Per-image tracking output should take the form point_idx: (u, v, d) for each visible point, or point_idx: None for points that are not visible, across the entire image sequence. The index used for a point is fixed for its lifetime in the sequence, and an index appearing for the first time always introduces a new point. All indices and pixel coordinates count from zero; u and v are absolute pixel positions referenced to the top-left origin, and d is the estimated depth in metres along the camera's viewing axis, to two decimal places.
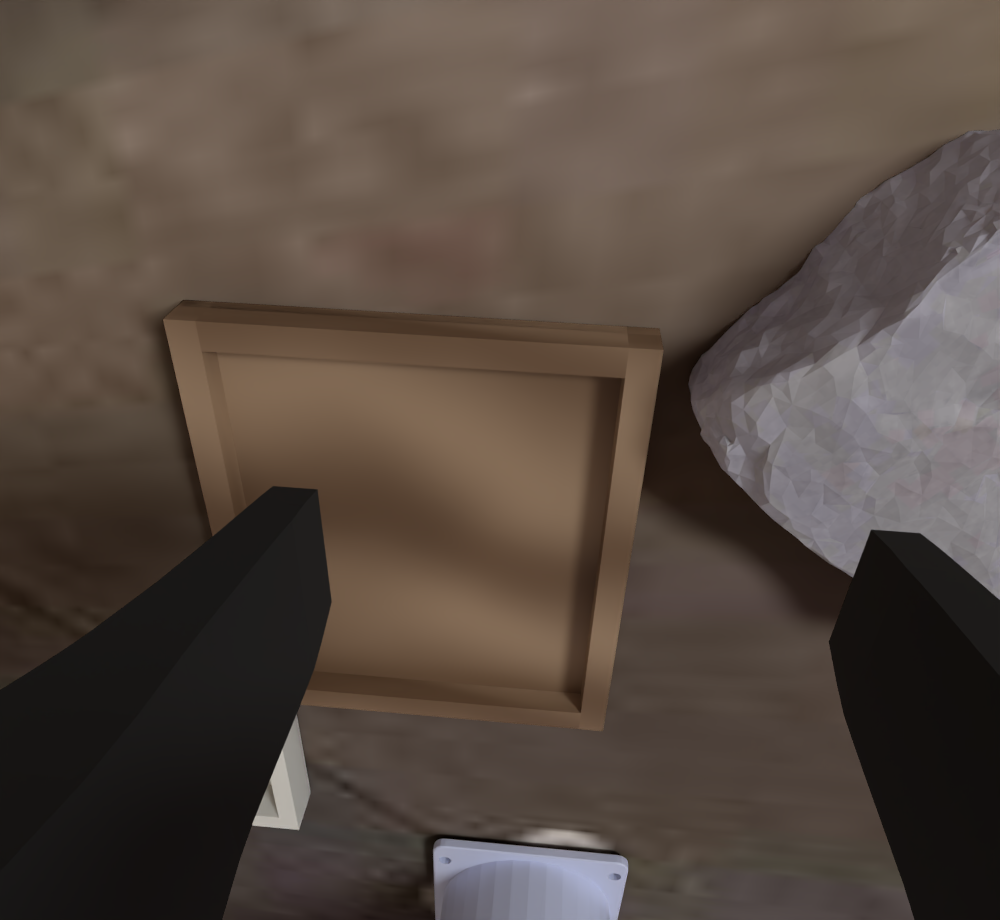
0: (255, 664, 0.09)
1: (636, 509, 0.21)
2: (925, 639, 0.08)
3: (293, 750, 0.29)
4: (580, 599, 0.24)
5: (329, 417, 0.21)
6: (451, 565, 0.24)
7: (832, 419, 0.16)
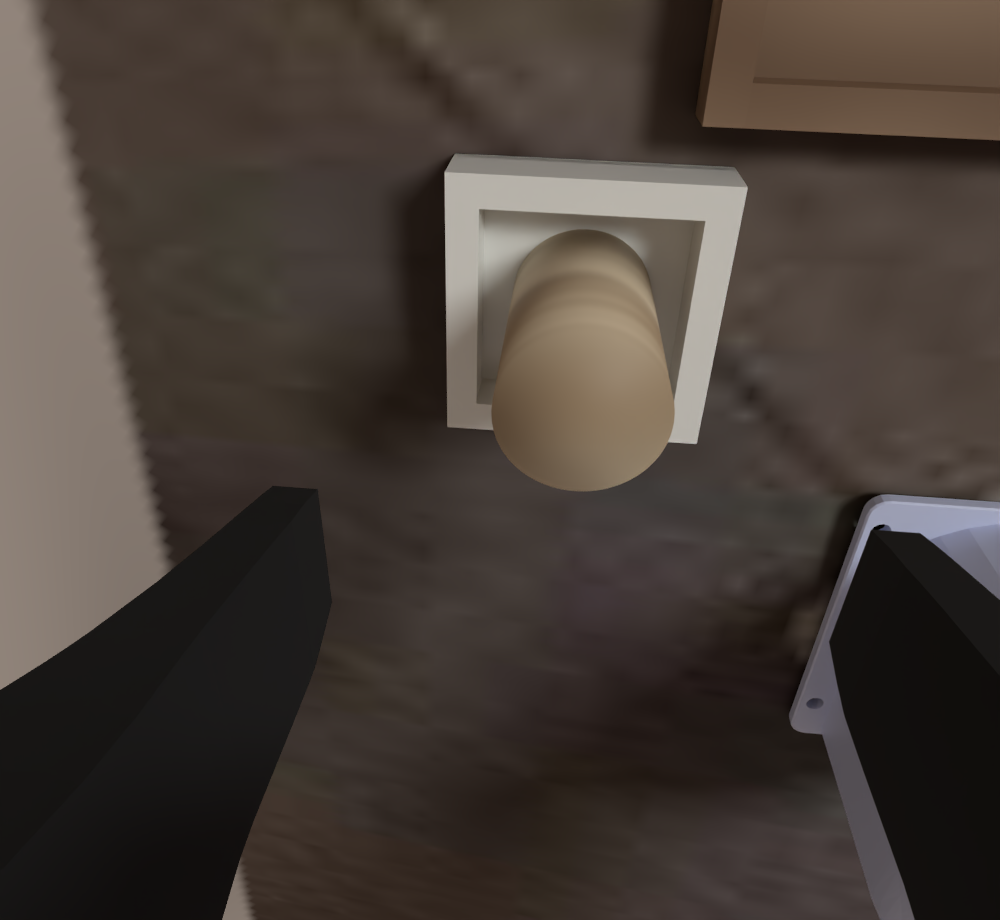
0: (256, 664, 0.09)
1: None
2: (925, 639, 0.08)
3: None
4: None
5: None
6: None
7: None
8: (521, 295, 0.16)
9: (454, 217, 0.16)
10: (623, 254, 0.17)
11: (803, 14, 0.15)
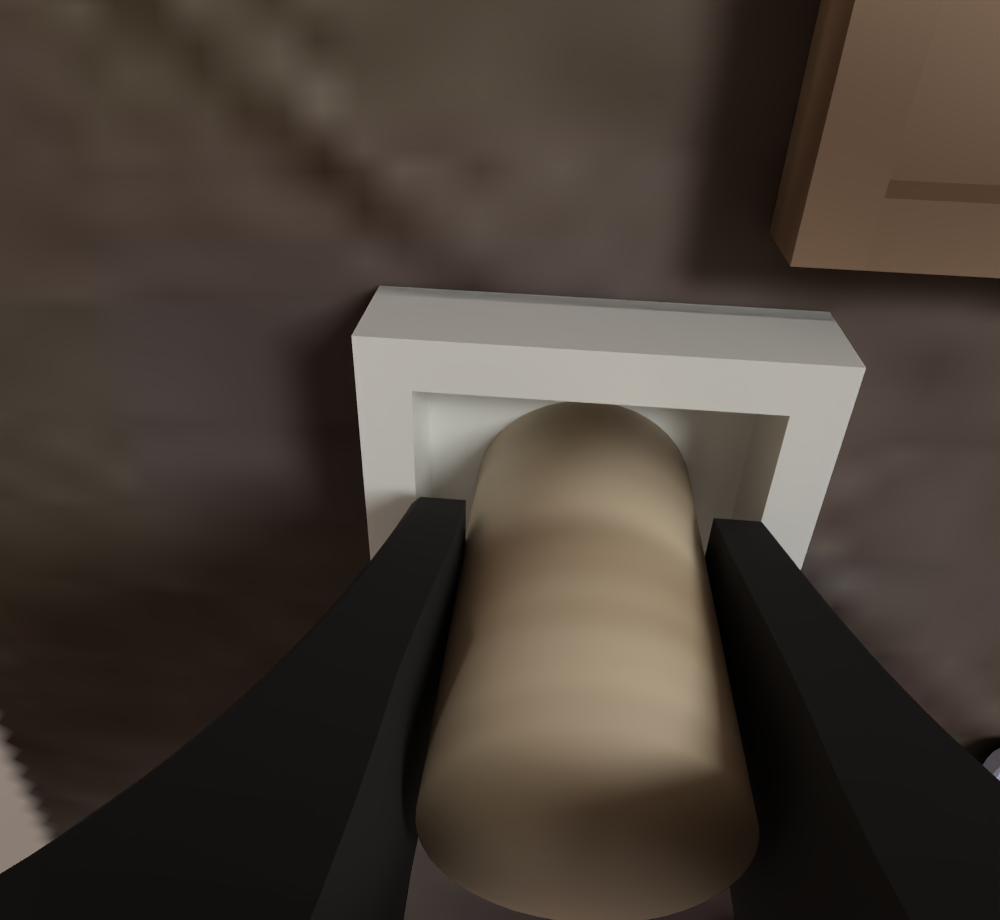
0: (430, 679, 0.09)
1: None
2: (740, 624, 0.08)
3: None
4: None
5: None
6: None
7: None
8: (481, 540, 0.10)
9: (372, 402, 0.10)
10: (650, 453, 0.10)
11: (974, 77, 0.08)
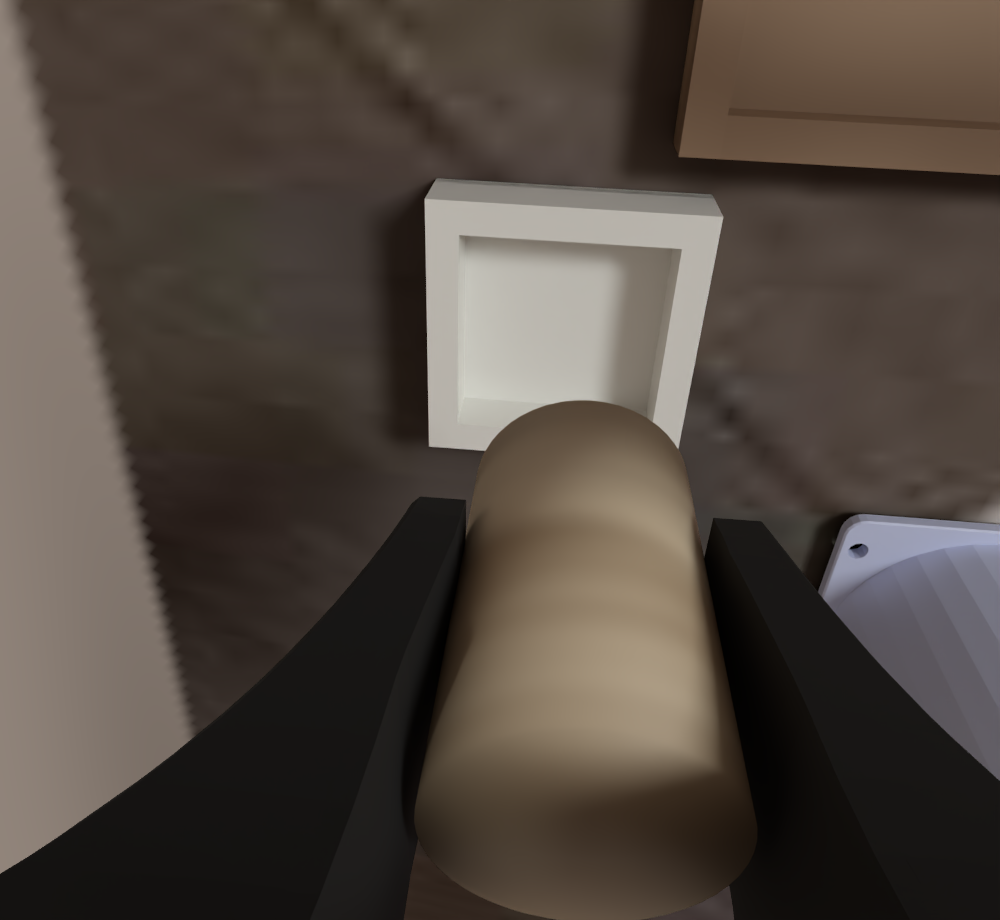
0: (430, 678, 0.09)
1: None
2: (741, 624, 0.08)
3: None
4: None
5: None
6: None
7: None
8: (480, 539, 0.10)
9: (434, 242, 0.16)
10: (648, 453, 0.10)
11: (778, 47, 0.15)
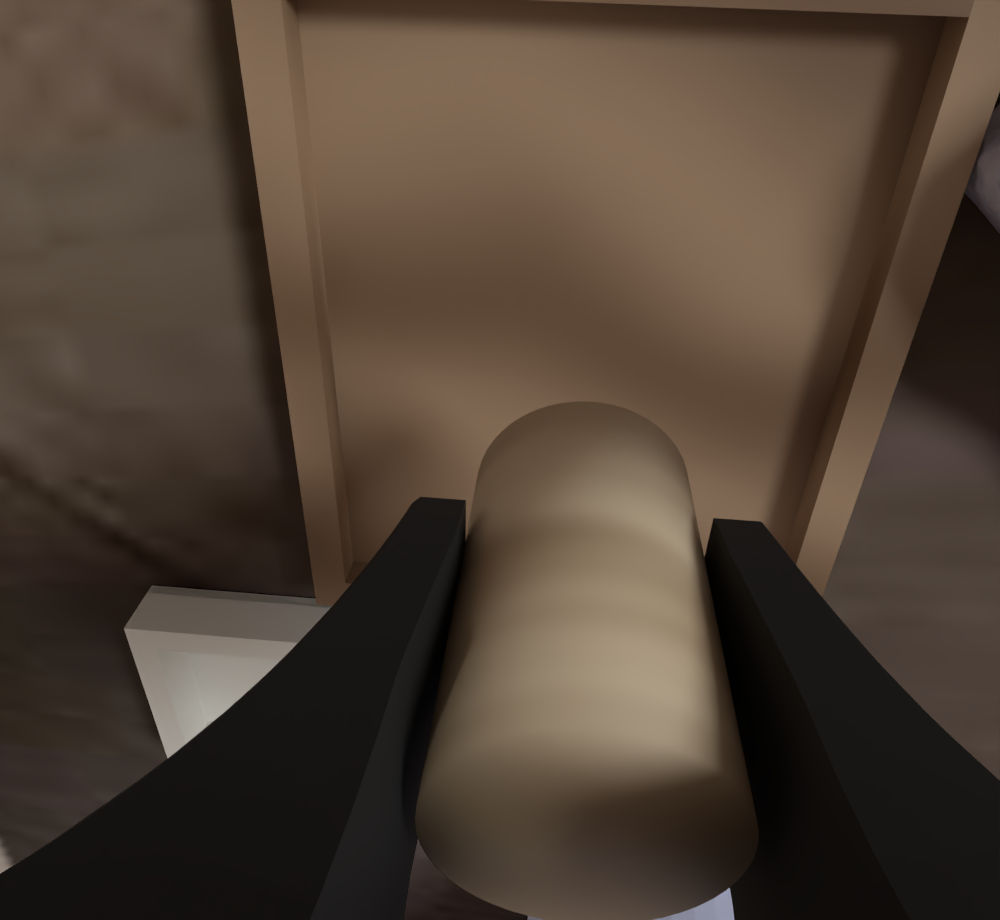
0: (429, 678, 0.09)
1: (932, 273, 0.14)
2: (740, 624, 0.08)
3: None
4: (800, 444, 0.17)
5: (464, 135, 0.14)
6: (618, 392, 0.17)
7: None
8: (483, 539, 0.09)
9: (139, 652, 0.21)
10: (652, 456, 0.10)
11: (385, 529, 0.19)
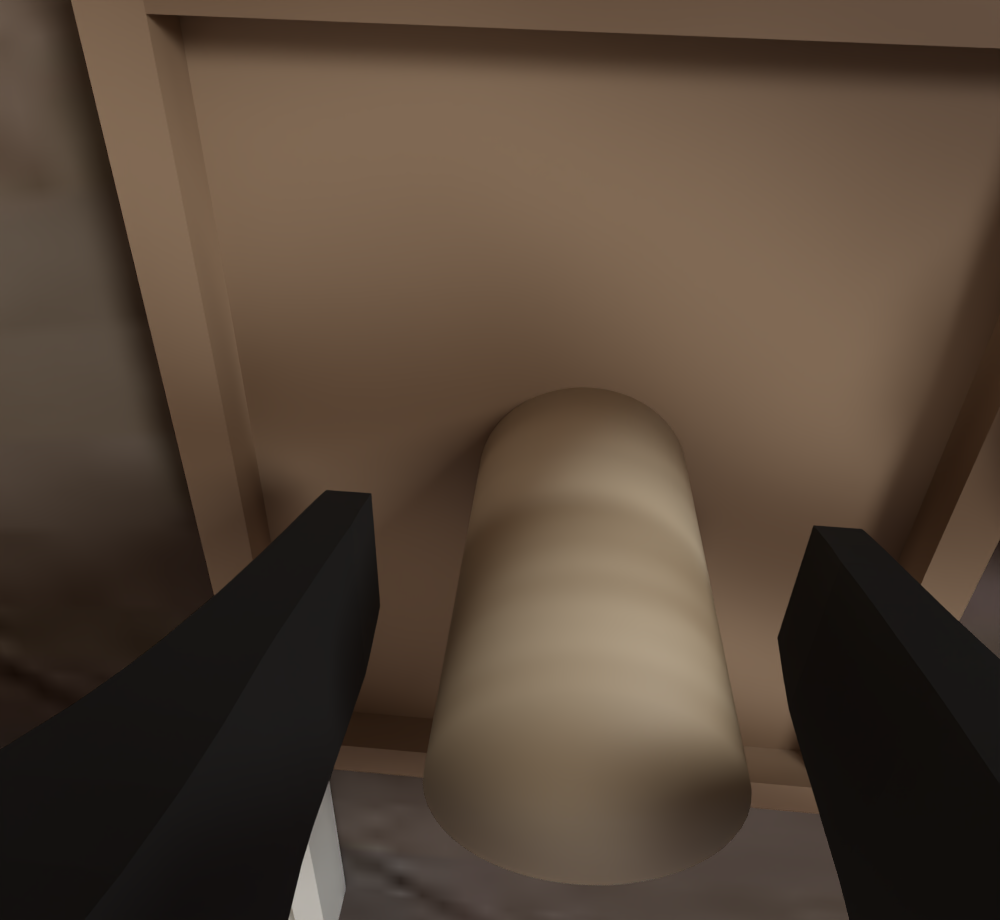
0: (319, 669, 0.09)
1: None
2: (857, 634, 0.08)
3: (323, 836, 0.18)
4: None
5: (421, 208, 0.10)
6: None
7: None
8: (487, 517, 0.10)
9: None
10: (650, 439, 0.11)
11: None
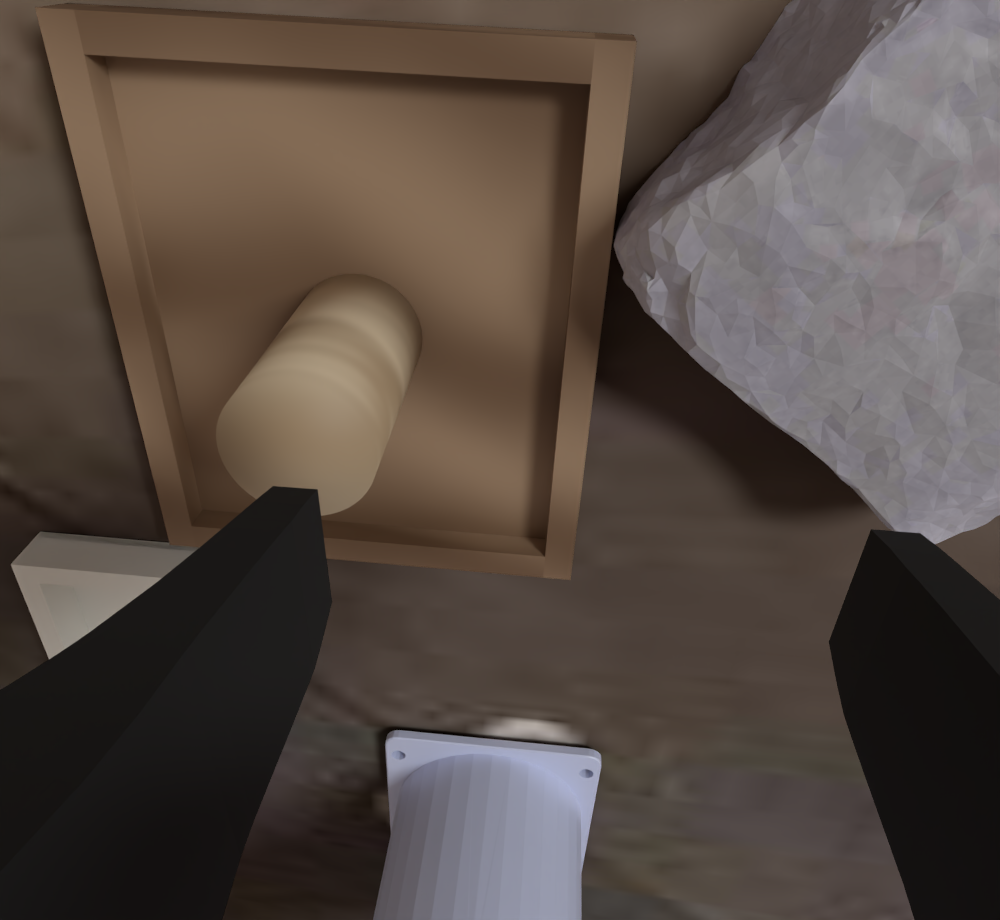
0: (255, 664, 0.09)
1: (606, 274, 0.18)
2: (925, 639, 0.08)
3: None
4: (544, 411, 0.21)
5: (245, 163, 0.18)
6: None
7: (755, 232, 0.14)
8: None
9: (25, 586, 0.25)
10: (381, 299, 0.18)
11: (224, 482, 0.23)
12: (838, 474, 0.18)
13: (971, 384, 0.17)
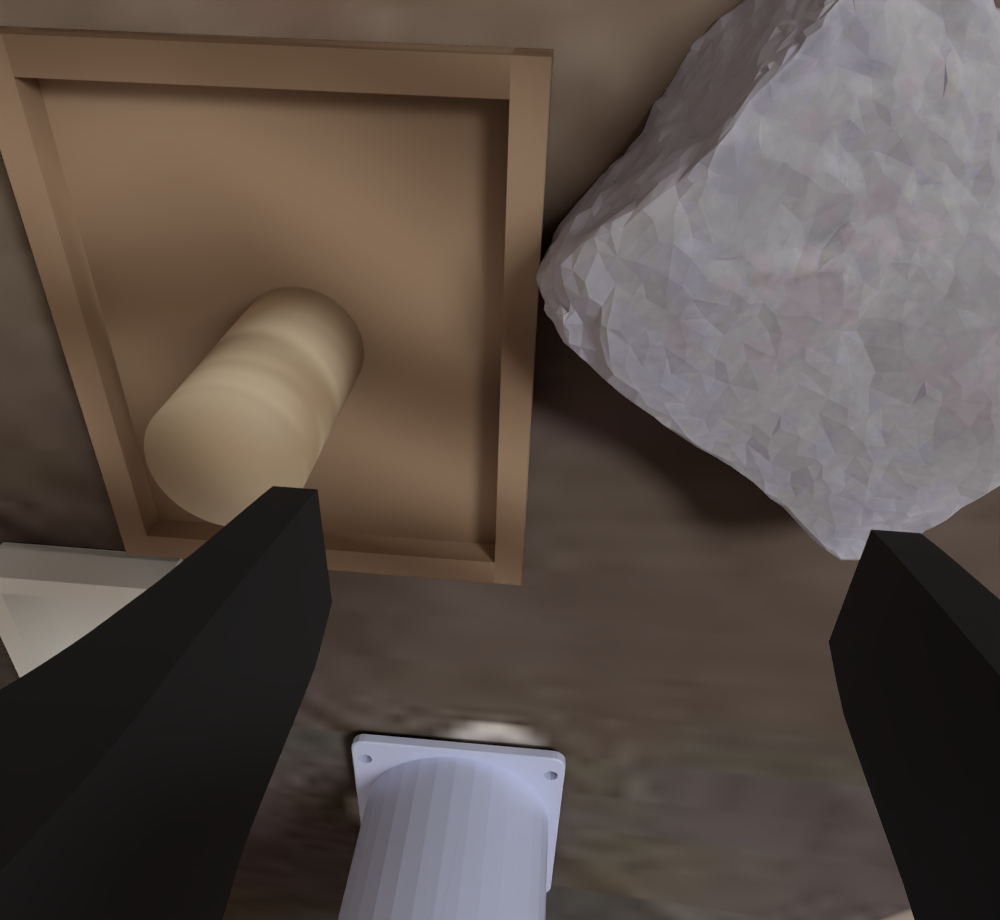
0: (256, 664, 0.09)
1: (536, 285, 0.18)
2: (925, 639, 0.08)
3: None
4: (487, 419, 0.21)
5: (180, 179, 0.18)
6: None
7: (657, 268, 0.15)
8: None
9: None
10: (318, 312, 0.19)
11: None
12: (766, 493, 0.19)
13: (885, 406, 0.17)
